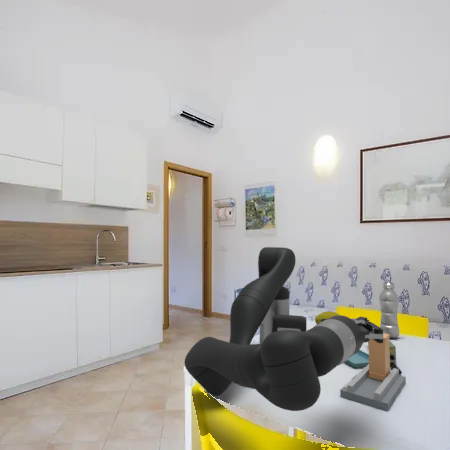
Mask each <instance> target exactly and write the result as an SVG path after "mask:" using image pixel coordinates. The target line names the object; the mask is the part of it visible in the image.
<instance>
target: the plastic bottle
mask: <svg viewBox="0 0 450 450" xmlns="http://www.w3.org/2000/svg"><path fill="white" fill-rule="evenodd" d="M382 285H383V286H382V288H383V289H382V291H380V293H379V295H378V297H379V298H378V299H379V305H380V312H381V314H380V324H379V327H380V328H381V329H383V333H385V334H390V339H396V338H398V337H399V336H400V326H399V321H398V306H399V299H400V298H399V296H398V294H397V292H396V291H395V289H396V287H395V282H383V284H382Z"/></svg>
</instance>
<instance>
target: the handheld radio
mask: <svg viewBox="0 0 450 450" xmlns="http://www.w3.org/2000/svg"><path fill="white" fill-rule="evenodd" d="M367 344H368V347H369V341H368V342H367ZM393 368H395V369H399V375H400V376H401V375H402V373H403V372H402V370H401V369H400V368H399V366H398V365H397V350H396V345H394V343H392V342H391V341H390V369H393Z"/></svg>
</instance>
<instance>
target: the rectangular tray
mask: <svg viewBox="0 0 450 450" xmlns="http://www.w3.org/2000/svg"><path fill="white" fill-rule="evenodd" d="M344 363H345V364H346V365H348V366H350V367H352V368H354V369H363V368H364V367H366V366H367V365H368V364H369V353H366V352H365V351H363V350H361V349H360V350H359V351H358V352H357V353H355V354H354V355H353V356H352V357H350V358H349V359H348V360H347V361H345V362H344Z"/></svg>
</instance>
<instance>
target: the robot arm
mask: <svg viewBox="0 0 450 450" xmlns="http://www.w3.org/2000/svg"><path fill="white" fill-rule="evenodd" d="M257 259H258V261H257V264H258V265H257V266H258V267H257V269H258V278H256V279H254V280H252V281H250V282H249V283H247V284H245V286H243V288H242V289H241V290H240V291H239V293H238V294H237V296H236V297H235V298H234V300H233V302H232V303H231V308H230V319H229V320H230V323H229V324H230V327H229V328H230V329H229V330H230V331H229V332H230V336H229V337H230V338H229V341H226V340H221V339H219V338H216V337H213V336H206V337H203V338H202V339H200V340H198V341H197V342H196V343H194V345H193V346H192V347H191V348H190V349H189V351H187V354H186V356H185V358H184V367H185V369H186V371H187V372H188V374H190V375H191V377H192V378H193V379H194V380H195V381H196V382H197V383H198V384H199V385H200V386H201V387H202V388H203V389H204V390H205V391H206V392H207V393H208V394H209V395H211V396H212V397H218V396H221V395H222V394H223V393H225V392H226V391H227V390H228V389H229V388H230V386H231V385H232V383H234V384H236V385H237V386H239V387H240V386H241V387H242V388H243V387H244V388H248V389H251V390H252V389H253V390H255V391H256V392H257V393H259V395H261V396H262V397H263V398H264V399H266V400H267V401H269V403H270V404H272V405H274V406H275V407H278V408H280V409H283V410H287V411H292V412H299V411H304V410H307V409H310V408H311V407H313V406H314V405H315V404H316V403H317V401H318V399H319V398H320V396H321V390H322V389H321V388H322V387H321V383H320V379H319V378H320V377H323V376H326V375H327V374H328V373H330V372H332V371H333V370H334V369H335V368H336V367H338V366H340V365H343V364H344V363H345V361H347V360H348V359H349V358H350V357H352V356H353V355H354V354H355V353H357V352H358V351H359V350H361V348H362V346H363V344H364V343H368V341H369V340H370V339H372V340H373V341H376V342H378V343H383V329H381V328H380V326H378V325H377V324H376V323H373V322H372V321H370V319H368V317H365V316H359V317H357V318H355V317H354V318H351V317H348V316H346V315H341V314H339V315H337V316H333V317H331V318H329V319H321V322H320V323H318V324H315V325H314V326H313V327H312V328H309V329H308V330H307V331H305V332H302V331H296V330H281V331H276V332H273V333H272V323H273V315H276V314H281V315H290V290H289V288H288V287H285V286H284V285H285V284H286V282H287V281H288V279H289V278H290V277H291V275H292V274H293V273H294V269H295V266H296V259H297V258H296V255H295V253H294V251H293V250H292V249H290V248H288V247H282V246H281V247H279V246H278V247H277V246H276V247H275V246H274V247H273V246H272V247H271V246H269V247H267V246H266V247H262V248H261V250H259V253H258V258H257ZM258 330H259V343H253V344H251V342H252V341H253V339H254V338H255V335H256V333H257V331H258Z"/></svg>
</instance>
